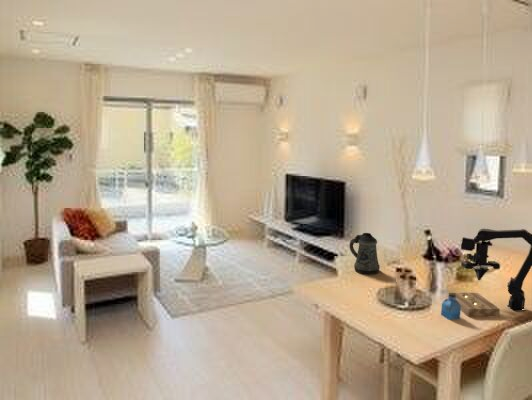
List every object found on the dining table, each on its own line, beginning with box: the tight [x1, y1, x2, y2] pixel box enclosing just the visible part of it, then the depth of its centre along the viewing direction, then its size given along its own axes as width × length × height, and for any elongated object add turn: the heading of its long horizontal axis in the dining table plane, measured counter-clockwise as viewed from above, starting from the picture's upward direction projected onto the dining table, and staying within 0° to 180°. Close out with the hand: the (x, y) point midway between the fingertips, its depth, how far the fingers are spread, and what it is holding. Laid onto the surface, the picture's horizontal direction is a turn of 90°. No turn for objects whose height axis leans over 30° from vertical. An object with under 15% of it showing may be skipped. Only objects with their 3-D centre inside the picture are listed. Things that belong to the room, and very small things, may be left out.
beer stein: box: [348, 232, 381, 276], centre depth 285 cm, size 16×19×25 cm
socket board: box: [447, 292, 501, 318], centre depth 229 cm, size 16×22×4 cm
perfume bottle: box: [440, 292, 462, 320], centre depth 217 cm, size 6×6×12 cm
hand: (478, 280), depth 237 cm, fingers closed
